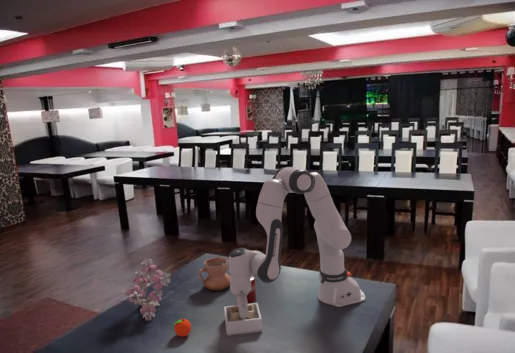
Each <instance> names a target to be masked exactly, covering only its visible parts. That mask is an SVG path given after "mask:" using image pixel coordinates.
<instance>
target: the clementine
mask: <svg viewBox="0 0 515 353" xmlns="http://www.w3.org/2000/svg"><path fill="white" fill-rule="evenodd" d="M173 327H174V332H175V334H176V335H177V336H178V337H183V338H184V337H187V336H188V335H189V334H190V333H191V330H192V324H191V322H190V321H189V320H188V319H186V318H181V319H179V320H177V321H176V322H174V323H173V325H172V327H171V328H173Z"/></svg>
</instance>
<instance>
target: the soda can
mask: <svg viewBox="0 0 515 353" xmlns="http://www.w3.org/2000/svg"><path fill="white" fill-rule="evenodd" d="M246 297H247V302H248V304H252V303H256V301H257V281H256V276H255V275H251V291H250V292H249V293H248V295H246Z"/></svg>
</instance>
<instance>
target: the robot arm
mask: <svg viewBox="0 0 515 353" xmlns="http://www.w3.org/2000/svg"><path fill="white" fill-rule="evenodd" d="M289 193H295V194H298V195H301V194H303V195H304V197H305V200H306V203H307V205H308V208H309V210H310V213H311V216H312V217H313V218H314V220H315V221H314V224H313V228H314V231H315V234H316V239H317V245H318V250H319V260H320V261H319V262H320V268H319V273H318V274H319V277H318V278H319V282H320V283H319V289H318V294H317V299H318V300H319V301H320V302H321V303H324V304H326V305H331V306H334V307H336V308H341V307H344V306H349V305H353V304H357V303H361V302H365V301H366V295H365V293H364V292H363V290H362V289H361V288H360V286H359V284H358V282H357V281H356V280H355V279H354V278H352V273H351V271H348V270H347V269H346V268H345V255H344V251H343V250H344V249H345V248H346V249H347V247H348V246H349V245H350V244H351V242H352V234H351V232H350V231H349V229H348V227H347V226H346V224H345V223H344V220H343V218H342V216H341V215H340V212H339V211H338V209H337V207H336V205H335V203H334V201H333V198H332V196H331V192H330V190H329V188H328V185H327V184H326V182H325V180H324V179H323V177H322V175H321V174H320V173H318V172H315V171H313V172H312V171H311V172H309V171H307V170H306V169H304V168H299V167H295V166H282V167H281V168H279V169H278V170H277V171H276V172H275V174H274V175H273V177H272V178H270V179H266V180H265V181H264V183H263V185H262V187H261V190H260V192H259V195H258V198H257V204H256V208H255V209H256V210H255V216H256V219H257V221H258V222H259V223H260V225H261V226H262V227H263V228H264V231H265V232H266V236H267V237H266V240H267V242H266V250H265V253H263V252H261V251H259V250H256V249H255V250H250V249H247V248H245V247H238V248H235V249H232V251H231V252H230V254H229V255H228V256H229V257H228V265H229V268H228V272H229V275H230V285H229V286H230V292H231V293H232V294H233V295H234V297H235V298H236V301H237V302H236V303H237V304H236V305H238V309H239V315H240V318H241V320H246V317H248V302H247V297H246V295H248V293H249V292H250V291H251V275H253V276H254V277H257V278H258V279H260V281H262V282H263V283H264V284H269V283H270V284H271V283H272V282H274V281H275V280H277V279H278V278H279V276H280V274H281V268H282V266H281V251H282V243H283V232H284V231H283V230H284V227H283V222H282V216H283V213H282V212H283V207H284V201H285V199H286V196H288V194H289Z"/></svg>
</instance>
